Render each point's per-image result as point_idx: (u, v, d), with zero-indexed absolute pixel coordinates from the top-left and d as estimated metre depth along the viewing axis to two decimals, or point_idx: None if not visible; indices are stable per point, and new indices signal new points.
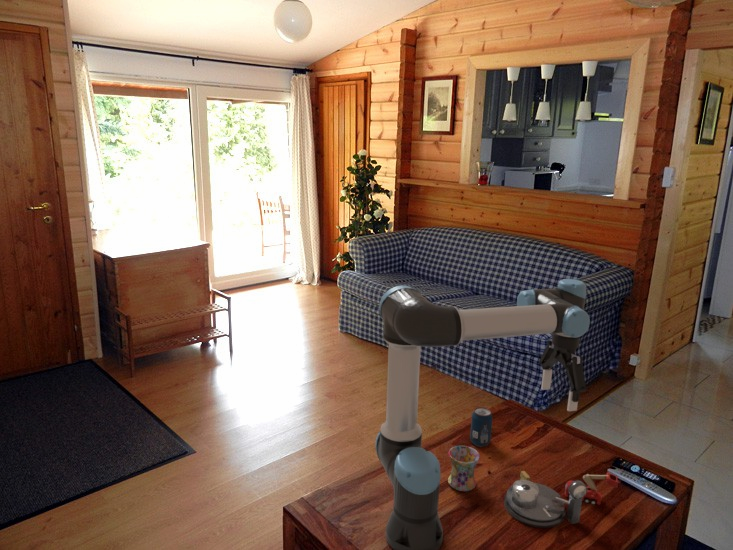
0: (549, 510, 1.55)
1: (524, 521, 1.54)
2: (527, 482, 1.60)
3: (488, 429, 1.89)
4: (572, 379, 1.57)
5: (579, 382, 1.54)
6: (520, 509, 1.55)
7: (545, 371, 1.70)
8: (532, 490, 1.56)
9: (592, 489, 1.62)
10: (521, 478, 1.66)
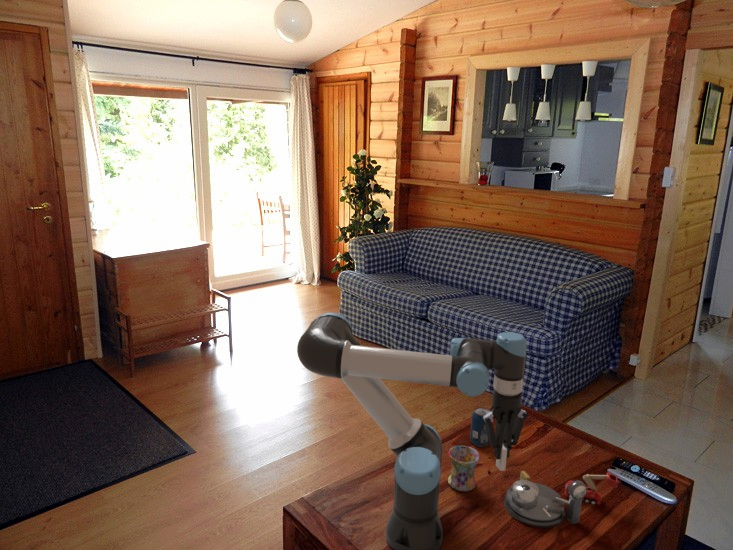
0: (549, 510, 1.55)
1: (524, 521, 1.54)
2: (527, 482, 1.60)
3: None
4: (495, 435, 1.51)
5: (488, 437, 1.50)
6: (520, 509, 1.55)
7: None
8: (532, 491, 1.56)
9: (592, 489, 1.62)
10: (521, 478, 1.66)
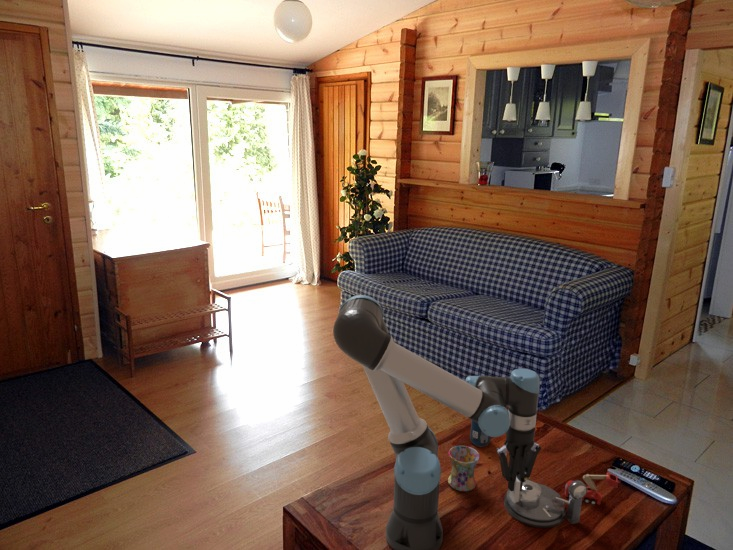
0: (549, 510, 1.55)
1: (524, 521, 1.54)
2: (529, 482, 1.60)
3: None
4: (509, 467, 1.55)
5: (502, 470, 1.55)
6: (520, 509, 1.55)
7: None
8: (534, 491, 1.56)
9: (592, 489, 1.62)
10: None
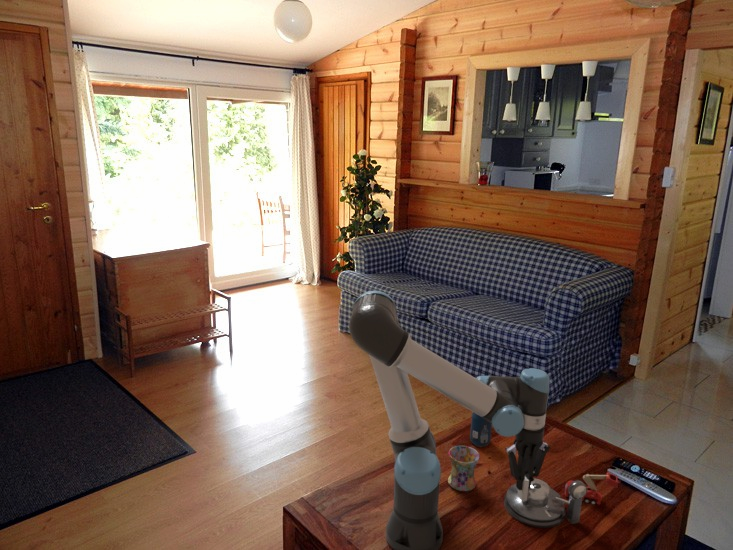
0: (549, 510, 1.55)
1: (524, 521, 1.54)
2: (538, 481, 1.61)
3: (488, 429, 1.89)
4: (517, 466, 1.56)
5: (511, 469, 1.55)
6: (520, 509, 1.55)
7: None
8: (543, 489, 1.57)
9: (592, 489, 1.62)
10: None
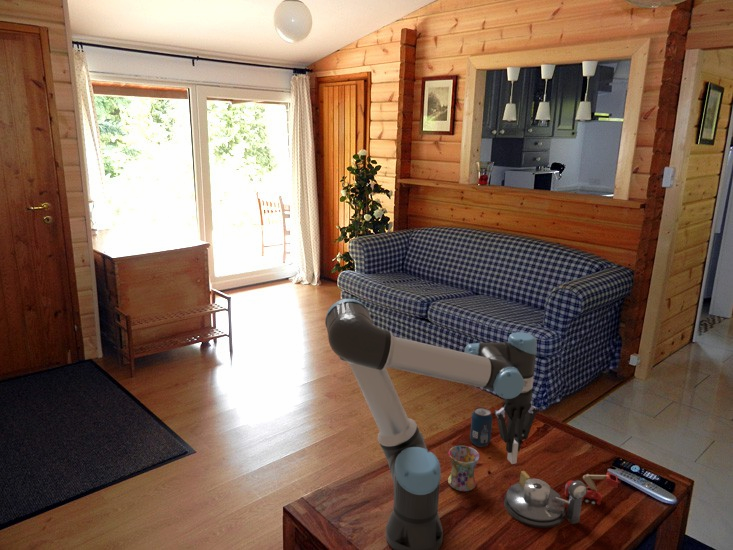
0: (549, 510, 1.55)
1: (524, 521, 1.54)
2: (538, 481, 1.61)
3: (488, 429, 1.89)
4: (507, 430, 1.59)
5: (500, 432, 1.59)
6: (520, 509, 1.55)
7: None
8: (543, 489, 1.57)
9: (592, 489, 1.62)
10: (521, 478, 1.66)
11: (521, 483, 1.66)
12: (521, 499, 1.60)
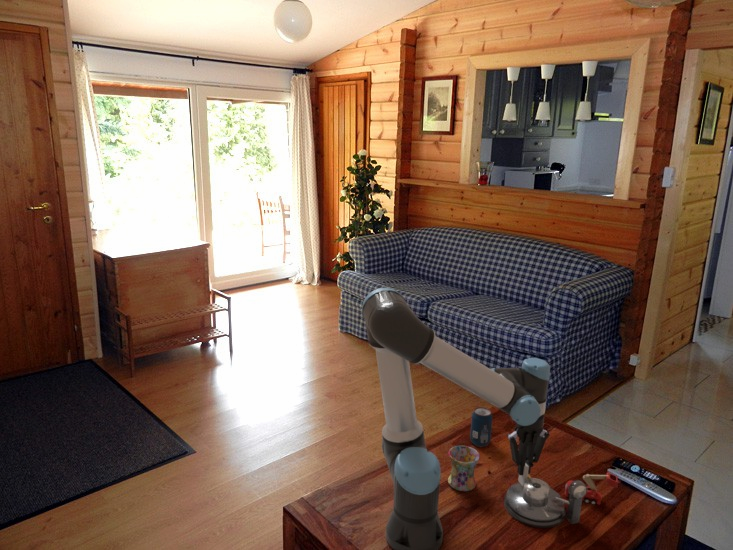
0: (548, 510, 1.55)
1: (524, 521, 1.54)
2: (538, 481, 1.61)
3: (488, 429, 1.89)
4: (518, 453, 1.63)
5: (512, 455, 1.62)
6: (518, 508, 1.56)
7: None
8: (542, 489, 1.57)
9: (592, 489, 1.62)
10: None
11: None
12: (521, 498, 1.60)
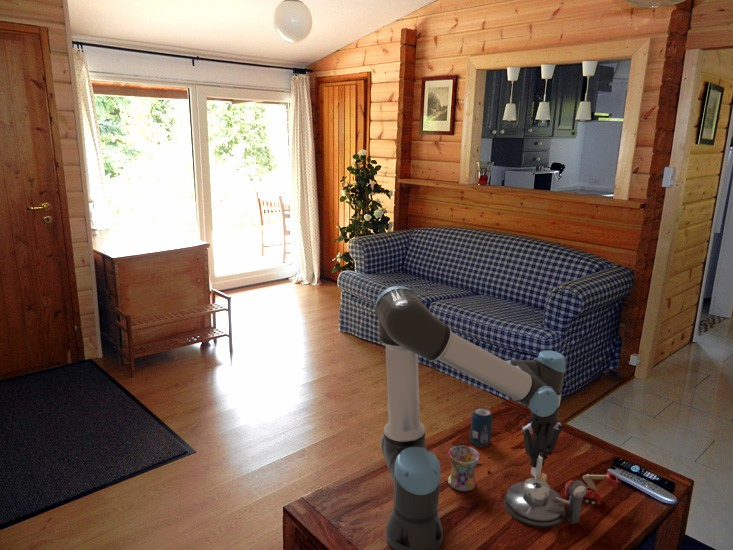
0: (534, 510, 1.55)
1: (524, 521, 1.54)
2: (544, 484, 1.59)
3: (488, 429, 1.89)
4: (532, 445, 1.63)
5: (526, 447, 1.63)
6: (509, 496, 1.61)
7: None
8: (537, 490, 1.57)
9: (592, 489, 1.62)
10: None
11: None
12: (522, 492, 1.63)
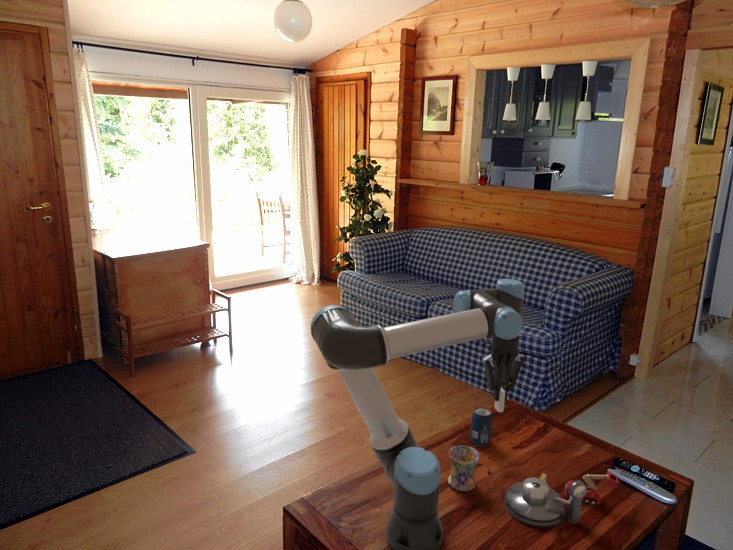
0: (534, 510, 1.55)
1: (524, 521, 1.54)
2: (543, 483, 1.60)
3: (488, 429, 1.89)
4: (494, 378, 1.60)
5: (487, 379, 1.59)
6: (509, 496, 1.61)
7: None
8: (536, 489, 1.57)
9: (592, 489, 1.62)
10: None
11: None
12: None
